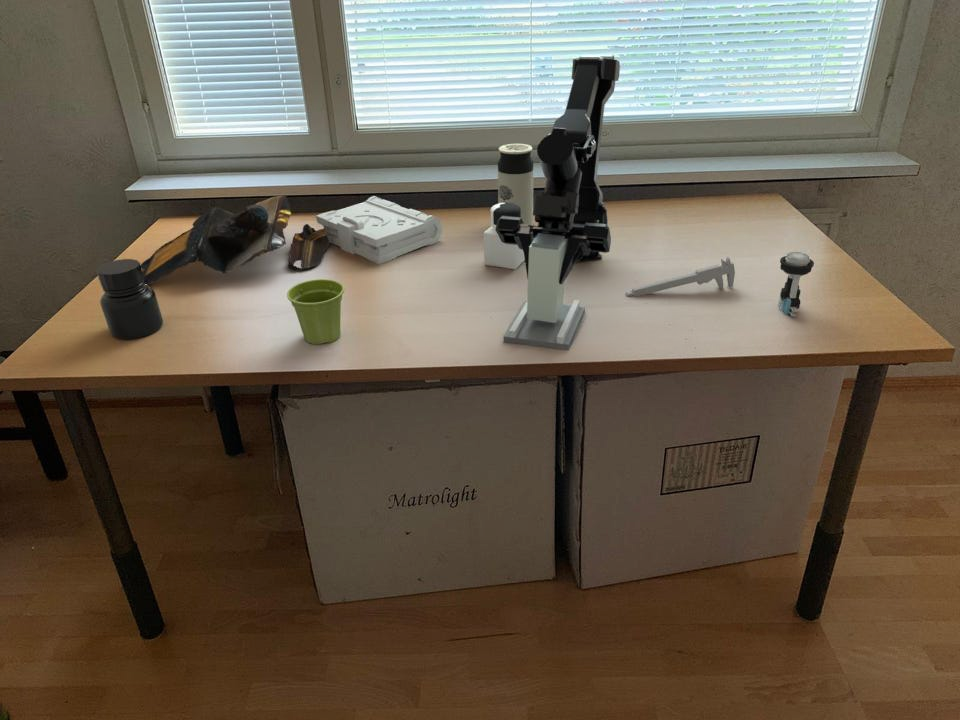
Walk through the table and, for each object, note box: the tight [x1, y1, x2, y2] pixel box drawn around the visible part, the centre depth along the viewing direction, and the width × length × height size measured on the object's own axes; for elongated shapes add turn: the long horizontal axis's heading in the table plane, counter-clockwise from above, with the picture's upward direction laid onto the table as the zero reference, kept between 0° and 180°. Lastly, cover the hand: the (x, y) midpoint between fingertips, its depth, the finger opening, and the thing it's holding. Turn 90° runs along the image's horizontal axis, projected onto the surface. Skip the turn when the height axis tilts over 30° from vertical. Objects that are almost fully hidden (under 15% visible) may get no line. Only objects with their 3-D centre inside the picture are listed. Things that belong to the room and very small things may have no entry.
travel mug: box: [497, 143, 534, 226], centre depth 162 cm, size 8×8×18 cm
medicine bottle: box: [482, 203, 525, 270], centre depth 145 cm, size 7×7×12 cm
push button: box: [777, 251, 815, 317], centre depth 123 cm, size 7×5×10 cm
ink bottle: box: [96, 258, 164, 340], centre depth 124 cm, size 10×9×12 cm
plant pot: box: [286, 278, 345, 345], centre depth 120 cm, size 9×9×9 cm
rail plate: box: [503, 299, 586, 351], centre depth 122 cm, size 14×11×2 cm
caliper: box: [625, 256, 736, 297], centre depth 132 cm, size 20×1×6 cm, turn 97°
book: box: [315, 195, 443, 265], centre depth 161 cm, size 19×28×8 cm
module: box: [526, 233, 567, 323], centre depth 118 cm, size 5×5×14 cm
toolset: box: [140, 195, 331, 287], centre depth 152 cm, size 40×20×27 cm
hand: (544, 281), depth 117 cm, fingers closed on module, 5 cm apart
